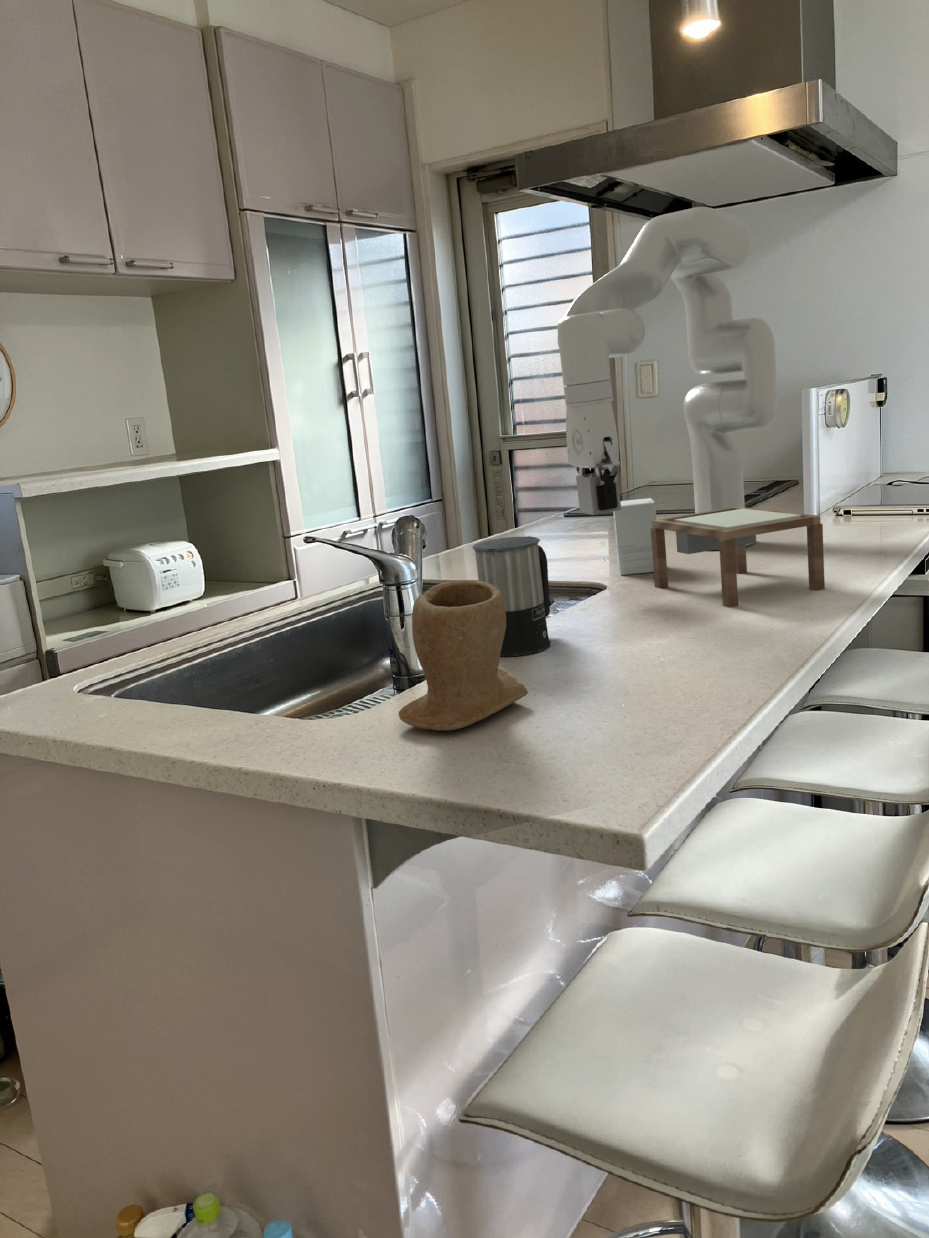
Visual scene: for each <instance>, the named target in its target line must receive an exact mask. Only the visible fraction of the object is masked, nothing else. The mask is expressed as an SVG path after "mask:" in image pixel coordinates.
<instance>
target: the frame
mask: <svg viewBox="0 0 929 1238" xmlns="http://www.w3.org/2000/svg"><path fill="white" fill-rule="evenodd" d="M738 509H751V510H760V511H768V512H777V513H786V514H795V515H801V518H796V519H790V520H784V521H778V522H772V523H766V524H760V525H754V526H748V527H742V528H736V529H730V530H725V529H718V528H712V527H705V526H699V525H692V524H685V523H679V522H675V519H682V518H688V517H694V516H700V515H706V514H713V513H719V512H725V511H731V510H738ZM804 527H806V541H807V542H806V543H807V567H808V568H807V569H808V571H807V572H808V589H809V590H814V591H820V590H824V589H826V585H825V583H826V582H825V560H824V559H825V558H824V557H825V556H824V531H823V530H824V529H823V528H824V527H823V523H822V522H821V515H815V514H808V513H806V514H805V513H800V512H799V513H798V512H789V511H779V510H769V509H762V508H751V507H746V506H745V507H733V508H727V509H720V510H714V511H708V512H702V513H689V514H684V515H678V516H671V517H664V518H659V519H657V520H652V528H651V540H652V554H653V568H654V572H653V579H654V587H655V588H659V589H661V588H667V587H669V580H668V579H669V578H668V564H667V550H666V535H665V531H669V532H670V531H671V532H675V533H676V532H681V533H687V534H693V535H699V536H705V537H711V538H717V539H719V549H720V550H719V560H720V561H719V562H720V564H719V565H720V580H721V581H720V582H721V598H722V599H721V600H722V606H723V607H727V608H731V607H736V606H739V596H738V594H739V593H738V575H737V574H744V573H748V567H747V566H748V564H747V548H746V547H747V546H746V544H745V545H739V546H735V539H734V538H740V537H746V536H752V535H756V536H757V535H763V534H769V533H775V532H781V531H786V530H792V529H798V528H804Z"/></svg>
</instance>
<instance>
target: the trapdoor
mask: <svg viewBox="0 0 929 1238" xmlns="http://www.w3.org/2000/svg"><path fill="white" fill-rule="evenodd" d="M796 518H801V515H795V514H786V513H777V512H768V511H760V510H751V509H738V510H731V511H725V512H719V513H713V514H706V515H700V516H694V517H688V518H682V519H675V522H679V523H685V524H692V525H699V526H705V527H712V528H718V529H725V530H730V529H736V528H742V527H748V526H754V525H760V524H766V523H772V522H778V521H784V520H790V519H796ZM675 537H676V549H677V550H676V552H677V553H681V554H685V555H692V554H698V553H704V552H710V551H716V549H719V539H717V538H711V537H705V536H699V535H693V534H687V533H681V532H675ZM734 539H735V546H739V545H745V544H751V543H753V544H755V543H757V535H752V536H746V537H740V538H734ZM751 545H752V544H751Z"/></svg>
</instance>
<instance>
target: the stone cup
mask: <svg viewBox="0 0 929 1238" xmlns="http://www.w3.org/2000/svg"><path fill="white" fill-rule="evenodd" d="M505 629H506V612H505V605H504V600H503V597H502V594H501V592H500V591H499V590H498V589H497V588H496V587H494V586H493V585H491V584H489V583H485V582H482V581H478V580H475V579H474V580H472V579H456V580H451V581H446V582H440V583H439V584H435V585H434V586H432V587H431V586H430V587H429V588H428V589H427V590H426V591H425V592H424V593H422V594H419V595H418V596H417V598H416V599H415V600H414V603H413V606H412V610H411V631H412V642H413V646H414V650H415V653H416V657H417V659H418V662H419V665H420V667H421V668H422V671H423V674H424V677H425V681H426V685H427V692H426V694H424V695H422V696H420V697H418V698H417V699H414V700H413V701H410V702H409V703H407V704H406V705H404V706H403V707H401V709H400V710H399V711H398V714H397V715H398V717H399V720H401V721H402V722H403V723H405V724H406V725H409V726H411V727H414V728H418V729H424V730H432V731H454V730H455V731H456V730H459V729H463V728H466V727H468V726H471V725H473V724H475V723H478V722H480V721H483V720H485V719H487V718H488V717H490V716H492V715H494V714H496V713H497V712H499V711H501V710H503V709H504V708H506V707H509V706H510V705H512V704H514V703H515V702H517V701H518V700H520V699H522V698H523V697H525V696H527V694H528V693H529V691H528V689H527V687H526V686H525V685H524V684H523V682H521V681H519V680H517V678H515V677H514V676H513V675H509V673H508V672H507V671H506V670H504V669H502V668H500V667H499V663H500V659H501V656H500V653H501V648H502V644H503V639H504V635H505Z"/></svg>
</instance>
